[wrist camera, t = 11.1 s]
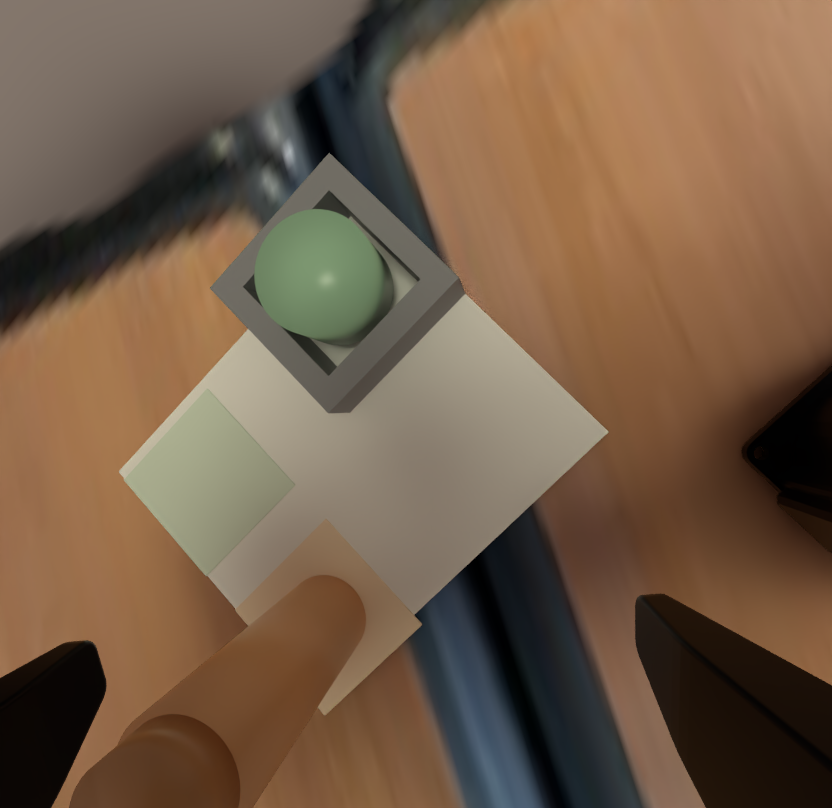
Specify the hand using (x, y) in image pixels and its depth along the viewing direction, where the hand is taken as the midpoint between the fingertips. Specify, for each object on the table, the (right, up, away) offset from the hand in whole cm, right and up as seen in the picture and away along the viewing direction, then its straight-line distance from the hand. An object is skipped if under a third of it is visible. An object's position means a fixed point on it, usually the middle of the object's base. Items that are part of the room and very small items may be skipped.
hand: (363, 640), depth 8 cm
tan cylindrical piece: (-3, -5, +14) cm, 15 cm away
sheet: (-2, +2, +14) cm, 14 cm away
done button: (-2, +8, +12) cm, 15 cm away
